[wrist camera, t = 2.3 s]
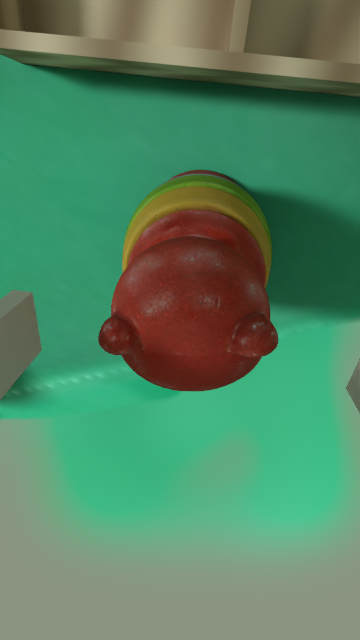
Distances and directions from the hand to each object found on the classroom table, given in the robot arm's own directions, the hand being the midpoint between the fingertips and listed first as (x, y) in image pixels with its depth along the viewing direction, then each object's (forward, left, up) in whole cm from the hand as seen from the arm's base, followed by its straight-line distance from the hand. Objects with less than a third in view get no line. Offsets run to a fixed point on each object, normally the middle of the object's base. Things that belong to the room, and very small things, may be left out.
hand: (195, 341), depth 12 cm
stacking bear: (0, 0, -16) cm, 16 cm away
